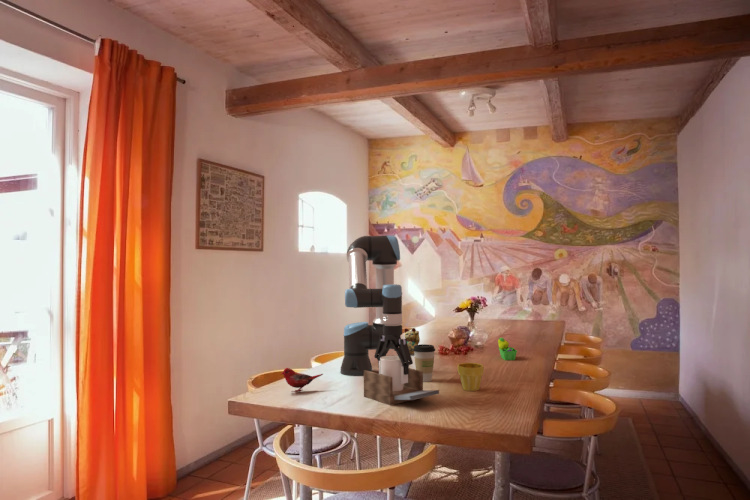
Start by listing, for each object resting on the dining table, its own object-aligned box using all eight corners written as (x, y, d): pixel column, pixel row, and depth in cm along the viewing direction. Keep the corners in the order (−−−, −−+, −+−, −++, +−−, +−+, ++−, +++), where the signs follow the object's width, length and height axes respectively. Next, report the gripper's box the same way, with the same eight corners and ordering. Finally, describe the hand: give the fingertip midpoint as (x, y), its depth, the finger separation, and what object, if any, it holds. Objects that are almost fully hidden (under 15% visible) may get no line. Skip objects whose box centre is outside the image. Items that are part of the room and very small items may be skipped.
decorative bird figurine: (280, 392, 207) (280, 367, 207) (322, 388, 214) (322, 364, 214) (281, 394, 204) (281, 369, 204) (324, 389, 211) (324, 365, 211)
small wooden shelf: (363, 396, 200) (363, 370, 200) (396, 389, 210) (395, 365, 210) (390, 405, 187) (389, 377, 187) (423, 397, 197) (422, 371, 197)
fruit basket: (517, 360, 269) (517, 339, 269) (500, 360, 269) (500, 339, 269) (512, 356, 280) (512, 335, 281) (496, 356, 281) (495, 336, 281)
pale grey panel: (393, 396, 188) (412, 396, 180) (420, 390, 196) (438, 390, 188) (394, 399, 188) (412, 399, 180) (420, 393, 196) (439, 393, 188)
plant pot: (468, 393, 202) (468, 368, 203) (452, 388, 212) (452, 364, 212) (489, 390, 207) (488, 365, 207) (473, 385, 216) (472, 361, 217)
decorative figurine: (402, 355, 287) (402, 328, 288) (404, 352, 295) (404, 326, 296) (420, 355, 286) (419, 328, 286) (421, 353, 294) (420, 326, 294)
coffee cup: (434, 383, 221) (434, 348, 221) (412, 382, 223) (411, 347, 223) (436, 378, 230) (436, 344, 231) (414, 377, 232) (414, 343, 233)
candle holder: (379, 386, 203) (378, 355, 203) (403, 385, 204) (403, 355, 204) (381, 392, 193) (381, 360, 194) (407, 391, 194) (406, 360, 194)
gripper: (365, 322, 206) (365, 376, 206) (406, 328, 187) (407, 387, 186) (380, 321, 211) (380, 373, 211) (421, 326, 192) (422, 384, 191)
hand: (393, 380), depth 198 cm, fingers open, 13 cm apart
